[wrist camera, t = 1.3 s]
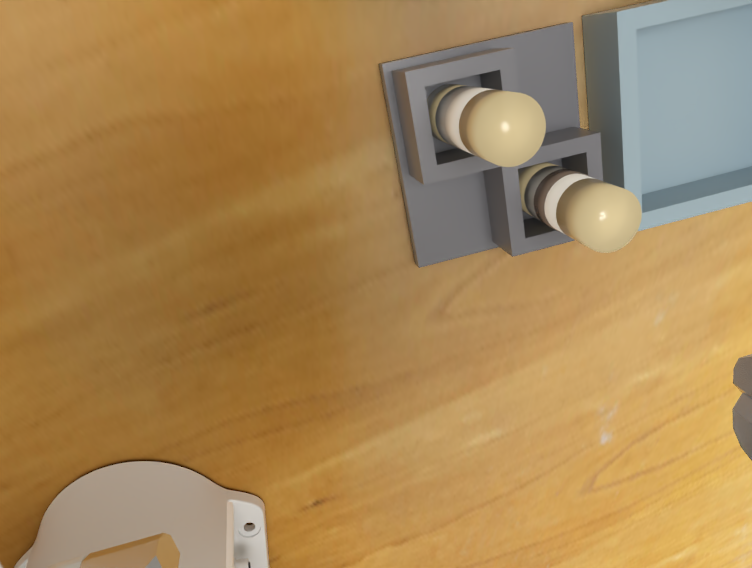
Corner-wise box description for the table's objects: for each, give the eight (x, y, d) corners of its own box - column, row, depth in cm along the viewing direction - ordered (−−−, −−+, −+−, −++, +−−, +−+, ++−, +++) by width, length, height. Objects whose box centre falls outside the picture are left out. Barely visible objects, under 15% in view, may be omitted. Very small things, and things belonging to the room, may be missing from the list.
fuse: (480, 134, 41) (548, 158, 31) (427, 147, 40) (481, 174, 31) (472, 78, 39) (542, 85, 30) (418, 90, 39) (472, 101, 30)
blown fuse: (559, 204, 43) (643, 244, 34) (509, 217, 43) (581, 260, 34) (554, 152, 42) (641, 179, 33) (503, 165, 42) (576, 196, 32)
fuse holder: (579, 220, 45) (613, 237, 41) (415, 263, 44) (433, 284, 40) (565, 23, 40) (601, 19, 36) (378, 63, 39) (394, 64, 35)
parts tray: (764, 175, 47) (810, 185, 43) (595, 219, 46) (626, 234, 42) (773, -26, 42) (825, -35, 38) (581, 16, 40) (616, 11, 36)
